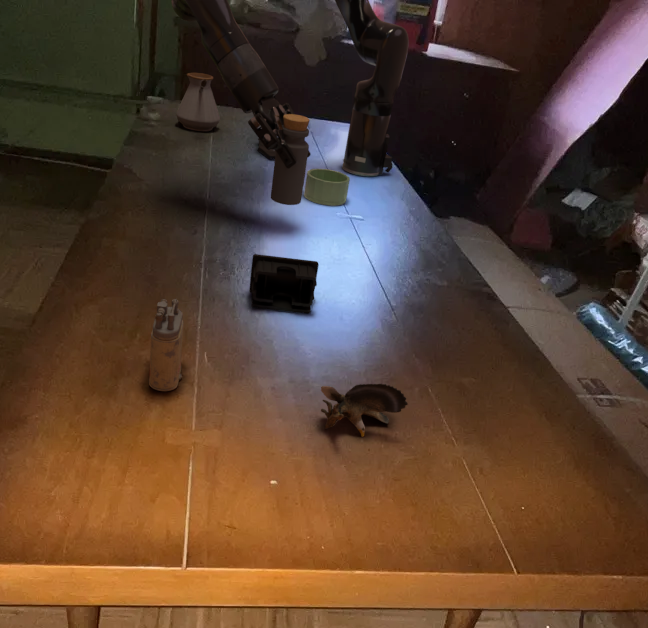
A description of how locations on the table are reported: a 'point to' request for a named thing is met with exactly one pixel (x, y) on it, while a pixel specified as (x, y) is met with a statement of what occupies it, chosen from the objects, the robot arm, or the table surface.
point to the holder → (326, 187)
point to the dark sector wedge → (266, 151)
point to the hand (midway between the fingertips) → (299, 161)
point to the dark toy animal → (363, 403)
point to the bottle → (292, 180)
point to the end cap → (283, 283)
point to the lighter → (166, 347)
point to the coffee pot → (198, 104)
